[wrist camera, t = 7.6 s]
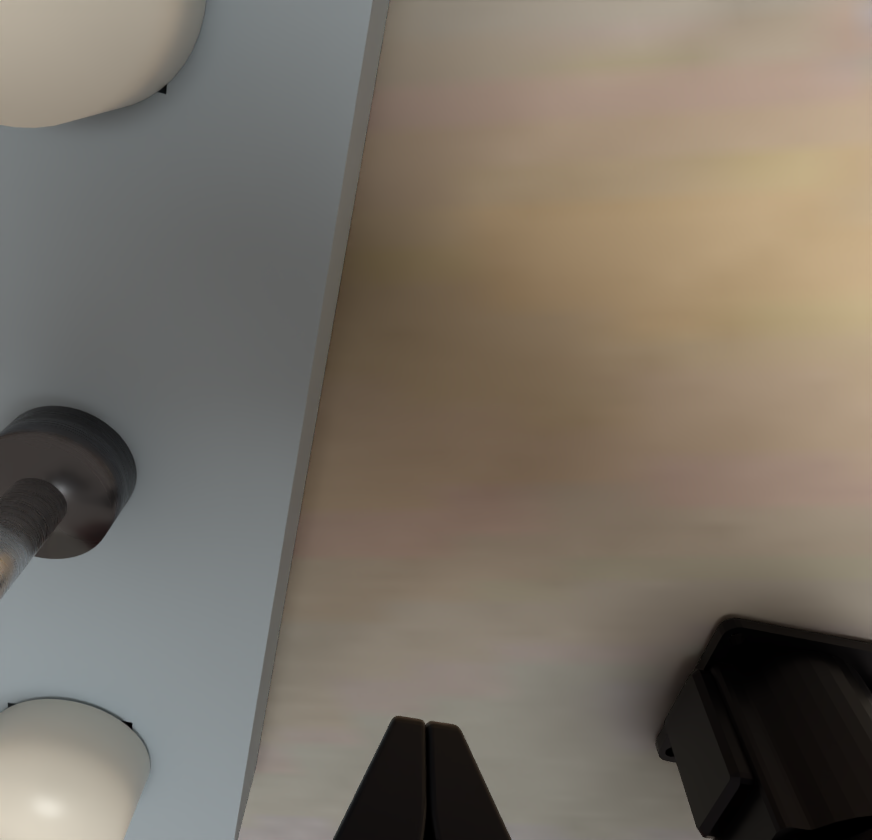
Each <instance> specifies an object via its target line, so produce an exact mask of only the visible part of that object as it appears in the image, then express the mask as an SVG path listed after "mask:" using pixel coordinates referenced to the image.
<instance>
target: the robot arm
mask: <svg viewBox="0 0 872 840" xmlns="http://www.w3.org/2000/svg"><path fill="white" fill-rule="evenodd" d="M735 633H738V634H736V635H734V636H731V635H732V634H735ZM655 744H656V748H657V751H658V754H659V757H660V758H661V759H663V760H665V761H670V762H675V763H677V766H678V769H679V772H680V775H681V779H682V782H683V785H684V788H685V792H686V795H687V798H688V801H689V804H690V808H691V811H692V814H693V817H694V820H695V824H696V827H697V829H698V830H699V832H700V833H701V835H702V836H703V837H705V838H711V839H713V840H872V644H871V643H866V642H860V641H855V640H850V639H844V638H839V637H834V636H829V635H823V634H818V633H813V632H808V631H802V630H797V629H792V628H786V627H781V626H776V625H771V624H765V623H760V622H755V621H749V620H744V619H739V618H732V619H728V620H726V621H724V622H722V623H721V624H720V625H719V626H718V628H717V630H716V632H715V633H714V635H713V637H712V639H711V641H710V643H709V644H708V646H707V648H706V650H705V652H704V654H703V655H702V657H701V659H700V661H699V663H698V665H697V666H696V668H695V670H694V671H693V672H692V673H691V674H690V676H689V678H688V679H687V681H686V683H685V685H684V687H683V689H682V690H681V692H680V694H679V696H678V698H677V700H676V702H675V703H674V705H673V707H672V709H671V711H670V713H669V714H668V716H667V718H666V720H665V725H664V727H663V729H662V730H661V732H660V734H659V736H658V738H657V740H656V743H655ZM333 840H511V838H510V835H509V833H508V831H507V829H506V827H505V825H504V822H503V820H502V818H501V816H500V814H499V811H498V809H497V807H496V805H495V803H494V801H493V798H492V796H491V794H490V792H489V790H488V788H487V785H486V783H485V781H484V779H483V777H482V774H481V772H480V770H479V768H478V766H477V764H476V761H475V759H474V757H473V755H472V753H471V750H470V748H469V746H468V744H467V742H466V740H465V737H464V735H463V733H462V731H461V730H460V728H459V727H458V726H456V725H454V724H448V723H441V722H435V721H430V722H428V723H427V724H426V725H425V722H424V721H423V720H421V719H416V718H409V717H403V716H396V717H394V718H393V719H392V721H391V722H390V724H389V726H388V728H387V730H386V732H385V734H384V736H383V739H382V741H381V743H380V745H379V747H378V749H377V751H376V753H375V755H374V757H373V759H372V761H371V763H370V765H369V767H368V769H367V771H366V773H365V775H364V777H363V779H362V781H361V783H360V785H359V787H358V789H357V791H356V794H355V796H354V798H353V800H352V802H351V804H350V806H349V808H348V810H347V812H346V814H345V816H344V818H343V820H342V822H341V824H340V826H339V828H338V830H337V832H336V834H335V836H334V838H333Z"/></svg>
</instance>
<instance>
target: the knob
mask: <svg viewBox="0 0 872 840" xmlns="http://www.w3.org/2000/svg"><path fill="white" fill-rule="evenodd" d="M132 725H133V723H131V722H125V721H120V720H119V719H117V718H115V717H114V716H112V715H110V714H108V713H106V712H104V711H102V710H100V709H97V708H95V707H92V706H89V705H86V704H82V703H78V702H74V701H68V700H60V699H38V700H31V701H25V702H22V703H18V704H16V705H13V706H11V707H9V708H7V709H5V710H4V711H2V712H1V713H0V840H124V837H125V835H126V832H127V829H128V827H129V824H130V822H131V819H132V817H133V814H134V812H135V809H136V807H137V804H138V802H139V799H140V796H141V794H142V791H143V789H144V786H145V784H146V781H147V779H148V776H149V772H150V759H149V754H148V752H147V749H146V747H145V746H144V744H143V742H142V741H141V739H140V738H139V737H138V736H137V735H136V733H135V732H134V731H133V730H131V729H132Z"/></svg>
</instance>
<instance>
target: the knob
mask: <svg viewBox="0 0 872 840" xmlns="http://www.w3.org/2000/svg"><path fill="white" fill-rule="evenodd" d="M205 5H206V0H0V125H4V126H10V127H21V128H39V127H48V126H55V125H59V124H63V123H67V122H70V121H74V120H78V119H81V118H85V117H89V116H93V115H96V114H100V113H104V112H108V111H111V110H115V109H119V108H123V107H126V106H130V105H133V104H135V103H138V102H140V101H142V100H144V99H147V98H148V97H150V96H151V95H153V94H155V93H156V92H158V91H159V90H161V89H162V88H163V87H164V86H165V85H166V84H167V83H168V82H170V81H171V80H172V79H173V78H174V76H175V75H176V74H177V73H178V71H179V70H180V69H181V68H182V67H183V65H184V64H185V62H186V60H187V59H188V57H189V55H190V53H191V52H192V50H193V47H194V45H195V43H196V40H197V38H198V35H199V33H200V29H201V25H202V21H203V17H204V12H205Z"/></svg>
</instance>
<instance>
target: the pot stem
mask: <svg viewBox="0 0 872 840" xmlns="http://www.w3.org/2000/svg"><path fill="white" fill-rule="evenodd" d="M136 480H137V470H136V464H135V461H134V458H133V455H132V453H131V451H130V449H129V447H128V446H127V444H126V443H125V441H124V440H123V439H122V438H121V436H120V435H119V434H118V433H117V432H116V431H115V430H114V429H113V428H111V427H110V426H109V425H108V424H106V423H105V422H104V421H102V420H100V419H99V418H97V417H95V416H93V415H91V414H89V413H87V412H84V411H81V410H79V409H75V408H71V407H65V406H42V407H37V408H33V409H31V410H28V411H26V412H24V413H22V414H20V415H19V416H18V417H16V418H15V419H14V420H13V421H12V422H11V423H10V424H9V425H7V426H6V427H5V428H4V429H3V430H2V431H1V432H0V600H1V599H2V597H3V596H4V595H5V594H6V592H7V591H8V590H9V588H10V587H11V586H12V584H13V583H14V582H15V581H16V579H17V578H18V577H19V575H20V574H21V573H22V571H23V570H24V569H25V568H26V566H27V565H28V564H29V562H30V561H31V560H32V558H33V557H39V558H46V559H66V558H71V557H76V556H79V555H82V554H84V553H86V552H88V551H90V550H91V549H93V548H94V547H96V546H97V545H98V544H99V543H100V542H101V541H102V539H103V538H104V537H105V535H106V534H107V532H108V531H109V529H110V528H111V526H112V525H113V523H114V522H115V520H116V519H117V517H118V516H119V514H120V513H121V511H122V510H123V508H124V507H125V505H126V504H127V502H128V501H129V499H130V498H131V496H132V494H133V492H134V489H135V486H136Z"/></svg>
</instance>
